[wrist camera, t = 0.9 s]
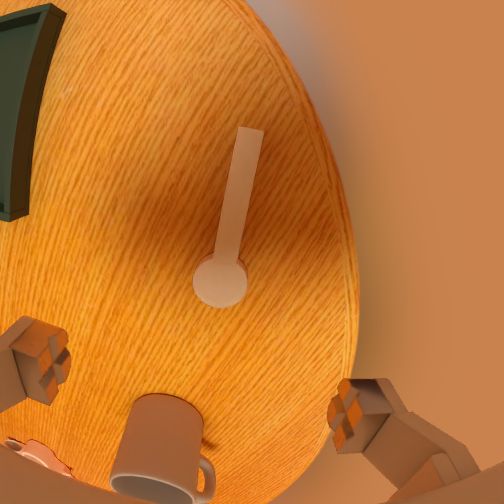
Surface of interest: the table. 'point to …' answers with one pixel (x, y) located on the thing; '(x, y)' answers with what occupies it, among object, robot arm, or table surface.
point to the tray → (22, 97)
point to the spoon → (231, 228)
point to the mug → (162, 453)
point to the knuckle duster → (38, 455)
